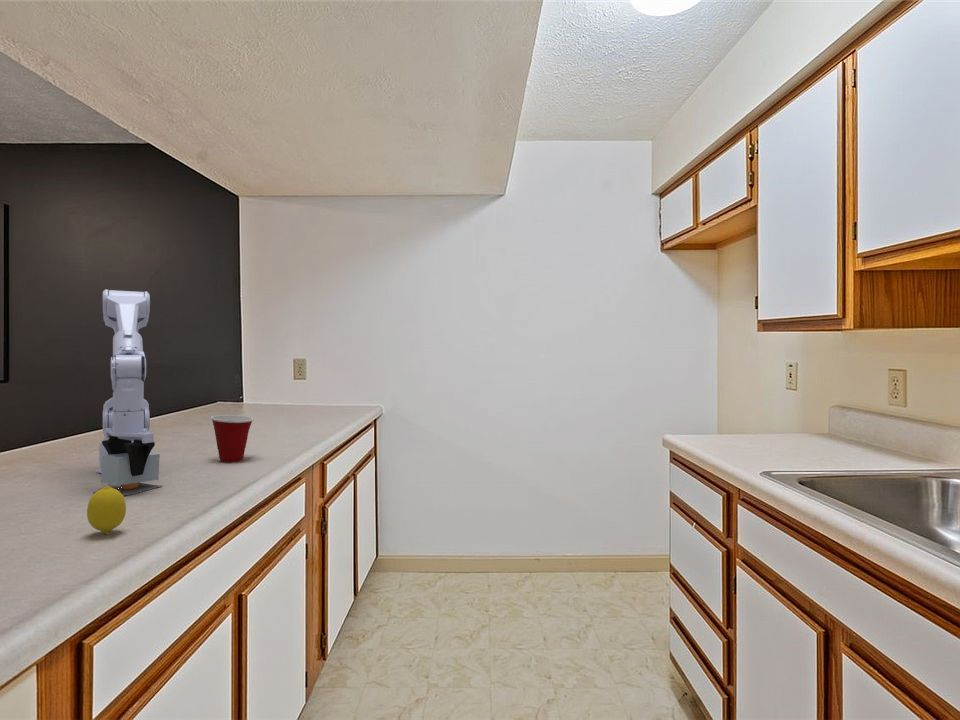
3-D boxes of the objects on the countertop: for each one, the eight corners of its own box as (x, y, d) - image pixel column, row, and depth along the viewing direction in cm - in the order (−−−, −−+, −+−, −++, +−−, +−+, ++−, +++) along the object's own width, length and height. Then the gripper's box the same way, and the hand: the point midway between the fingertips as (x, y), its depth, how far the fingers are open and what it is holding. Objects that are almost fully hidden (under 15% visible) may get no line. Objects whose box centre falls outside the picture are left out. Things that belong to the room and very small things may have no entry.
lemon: (98, 528, 103) (98, 482, 103) (132, 528, 103) (132, 482, 103) (79, 539, 97) (79, 490, 97) (115, 538, 98) (115, 490, 98)
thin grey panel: (93, 493, 126) (93, 492, 126) (135, 483, 135) (135, 482, 135) (120, 497, 123) (120, 496, 123) (161, 486, 132) (161, 485, 132)
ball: (123, 466, 130) (134, 478, 133) (111, 481, 127) (121, 492, 130) (137, 467, 129) (147, 479, 131) (125, 482, 126) (135, 494, 128)
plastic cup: (238, 465, 156) (238, 419, 156) (201, 463, 158) (201, 417, 158) (261, 457, 167) (261, 414, 166) (226, 455, 169) (227, 413, 168)
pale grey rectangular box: (100, 481, 127) (102, 455, 127) (142, 476, 135) (143, 451, 135) (117, 485, 124) (118, 458, 124) (158, 479, 132) (159, 454, 132)
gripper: (167, 410, 129) (167, 473, 129) (126, 406, 136) (126, 466, 136) (134, 414, 123) (134, 480, 123) (94, 409, 129) (94, 471, 130)
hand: (128, 473), depth 129 cm, fingers closed on pale grey rectangular box, 6 cm apart
